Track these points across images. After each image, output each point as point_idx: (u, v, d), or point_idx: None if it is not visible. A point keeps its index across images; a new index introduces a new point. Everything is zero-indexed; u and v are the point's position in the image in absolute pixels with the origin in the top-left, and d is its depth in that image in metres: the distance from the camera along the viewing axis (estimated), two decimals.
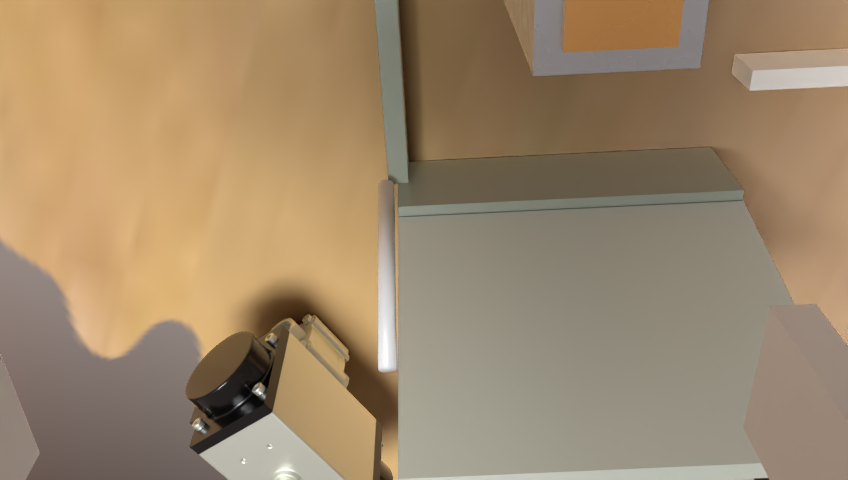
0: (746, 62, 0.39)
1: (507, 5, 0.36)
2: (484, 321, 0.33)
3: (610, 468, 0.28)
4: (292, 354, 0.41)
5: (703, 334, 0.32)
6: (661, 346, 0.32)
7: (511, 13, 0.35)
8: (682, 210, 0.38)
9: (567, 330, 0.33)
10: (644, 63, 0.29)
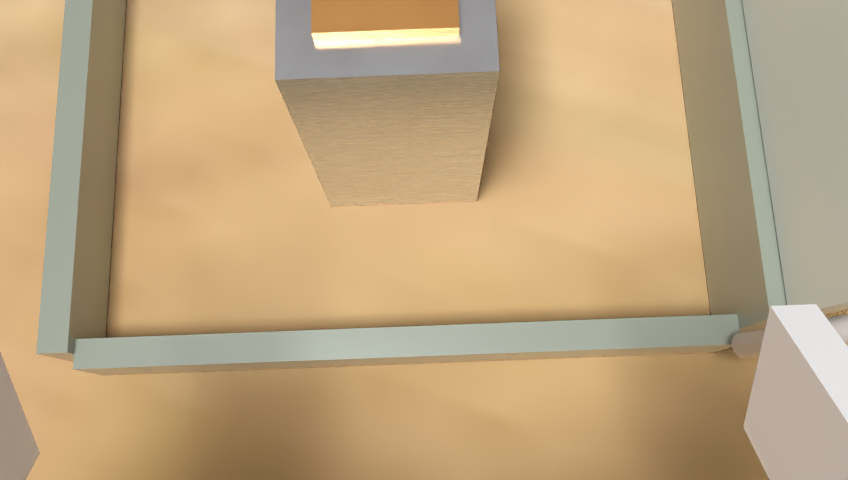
0: None
1: (472, 184, 0.28)
2: None
3: None
4: None
5: None
6: None
7: (472, 169, 0.27)
8: None
9: None
10: None
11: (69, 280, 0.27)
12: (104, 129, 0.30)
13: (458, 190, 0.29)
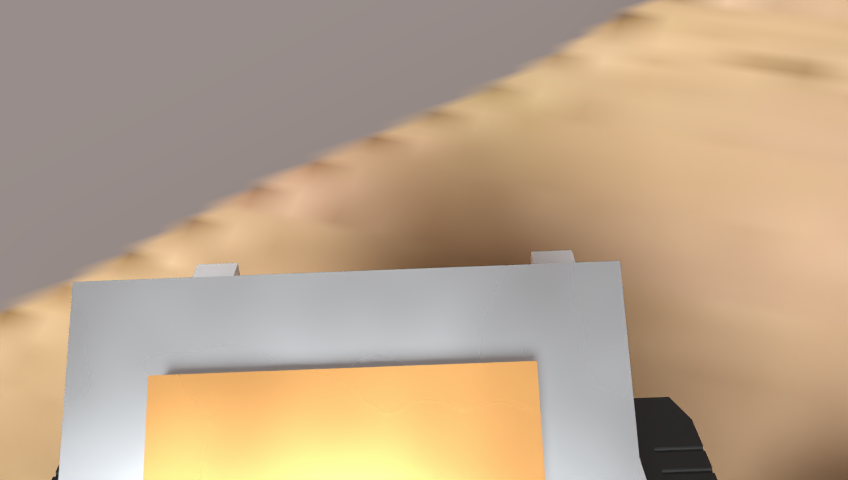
0: None
1: None
2: None
3: None
4: None
5: None
6: None
7: None
8: None
9: None
10: (611, 472, 0.07)
11: None
12: None
13: None
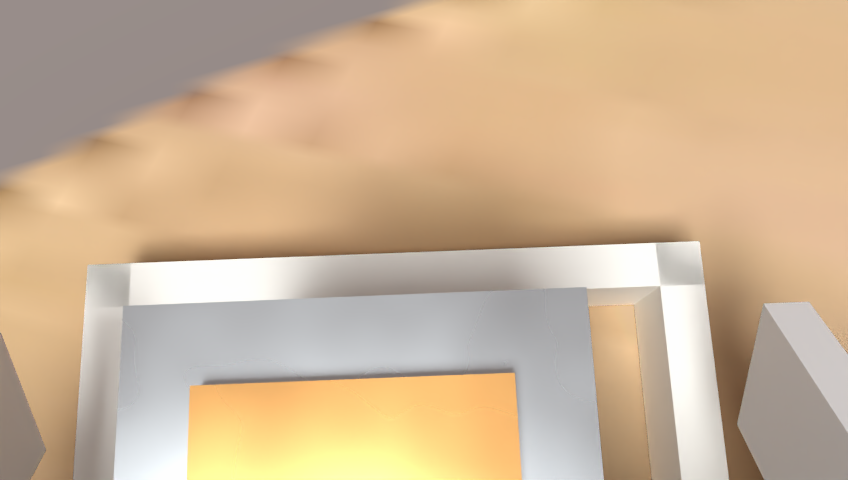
0: None
1: None
2: None
3: None
4: None
5: None
6: None
7: None
8: None
9: None
10: (577, 466, 0.09)
11: None
12: None
13: None
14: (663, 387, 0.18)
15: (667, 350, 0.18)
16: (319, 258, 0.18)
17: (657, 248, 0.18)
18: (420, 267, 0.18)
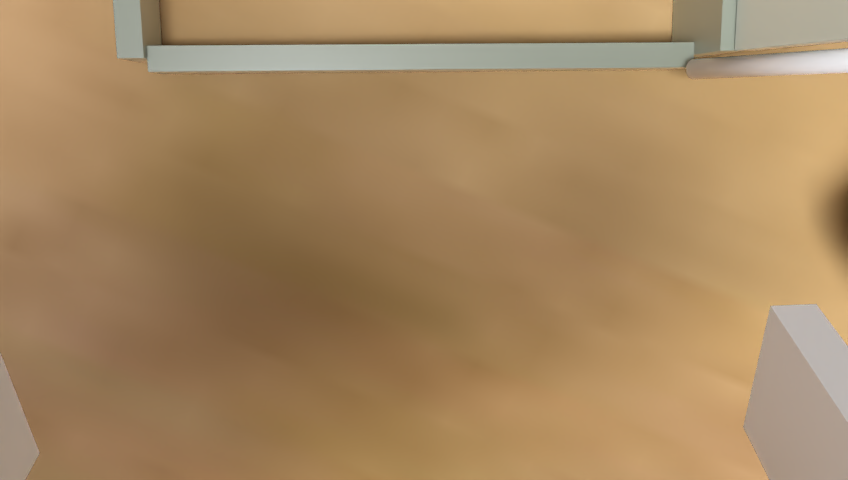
0: None
1: None
2: None
3: None
4: None
5: None
6: None
7: None
8: None
9: None
10: None
11: None
12: None
13: None
14: None
15: None
16: None
17: None
18: None
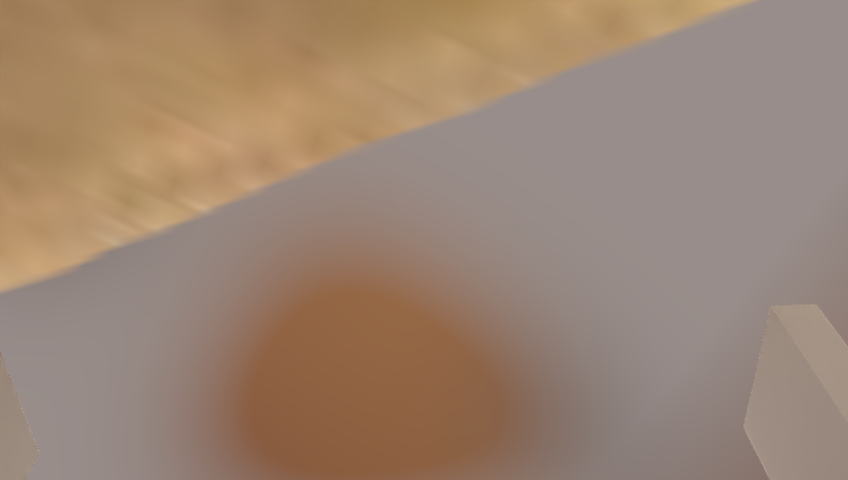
0: None
1: None
2: None
3: None
4: None
5: None
6: None
7: None
8: None
9: None
10: None
11: None
12: None
13: None
14: None
15: None
16: None
17: None
18: None
